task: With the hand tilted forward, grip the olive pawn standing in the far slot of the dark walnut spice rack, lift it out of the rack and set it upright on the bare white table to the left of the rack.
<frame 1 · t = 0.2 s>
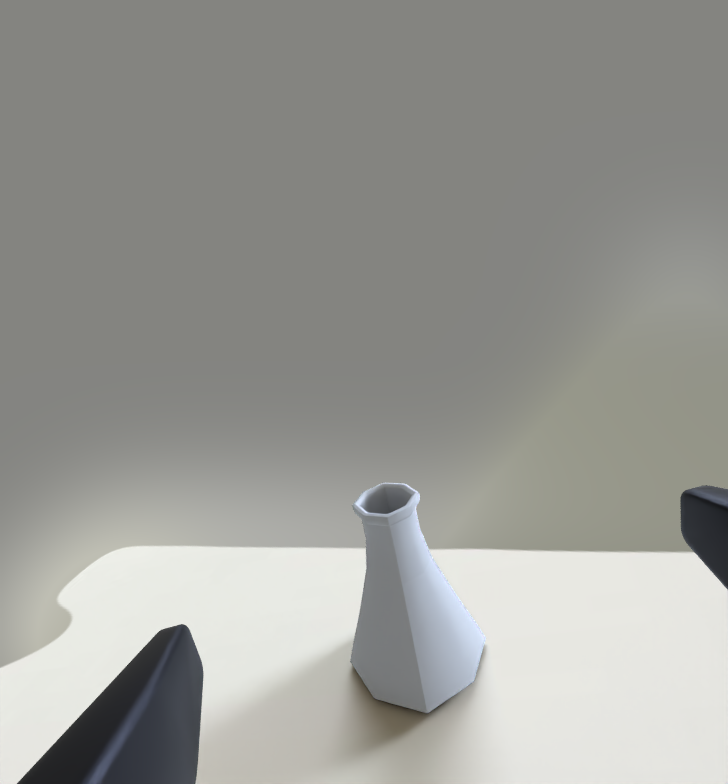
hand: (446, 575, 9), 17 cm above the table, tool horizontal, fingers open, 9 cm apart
flask: (419, 656, 28), on the table
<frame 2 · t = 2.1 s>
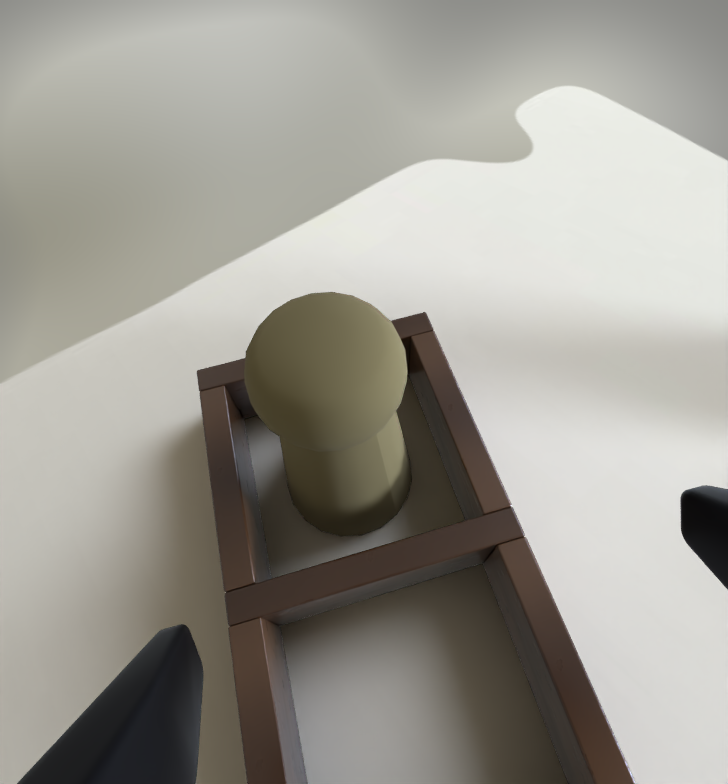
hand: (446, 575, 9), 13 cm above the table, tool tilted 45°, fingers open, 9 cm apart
spice rack: (379, 579, 21), on the table
olive pawn: (349, 474, 24), resting in spice rack
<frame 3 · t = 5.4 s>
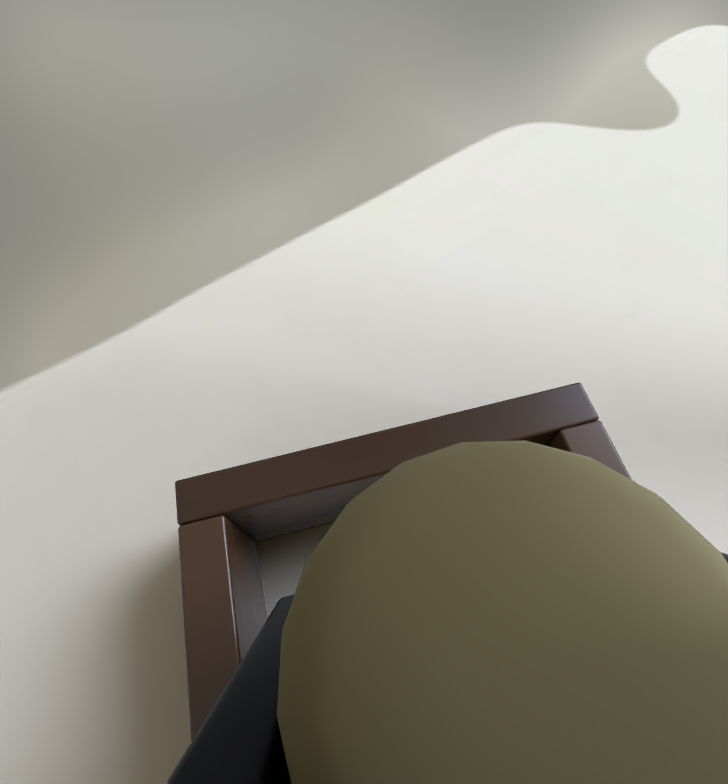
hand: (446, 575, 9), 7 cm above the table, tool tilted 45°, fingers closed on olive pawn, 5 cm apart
olive pawn: (436, 660, 14), resting in spice rack, touching gripper
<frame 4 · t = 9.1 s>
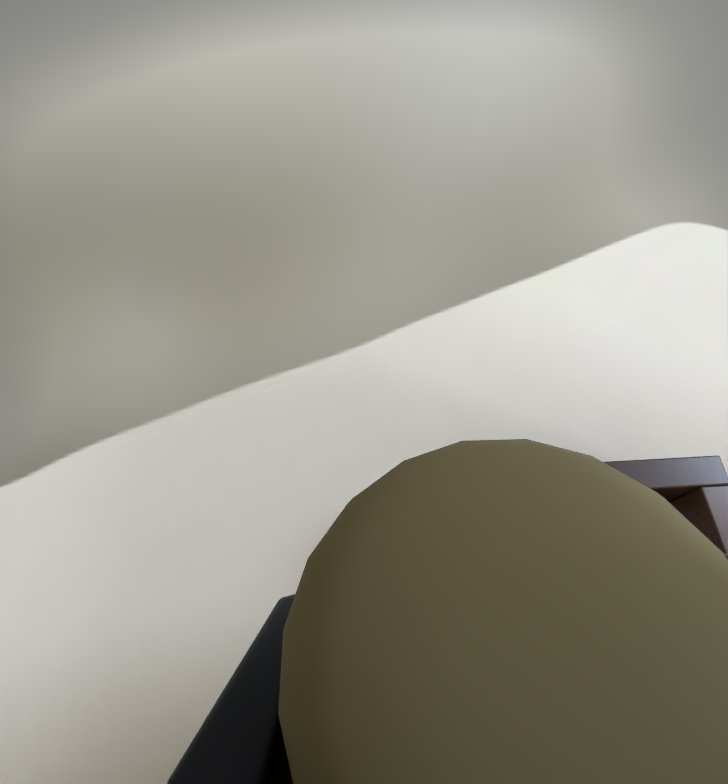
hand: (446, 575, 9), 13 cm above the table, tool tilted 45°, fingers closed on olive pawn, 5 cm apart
spice rack: (614, 783, 18), on the table
olive pawn: (437, 659, 14), point 6 cm above the table, touching gripper
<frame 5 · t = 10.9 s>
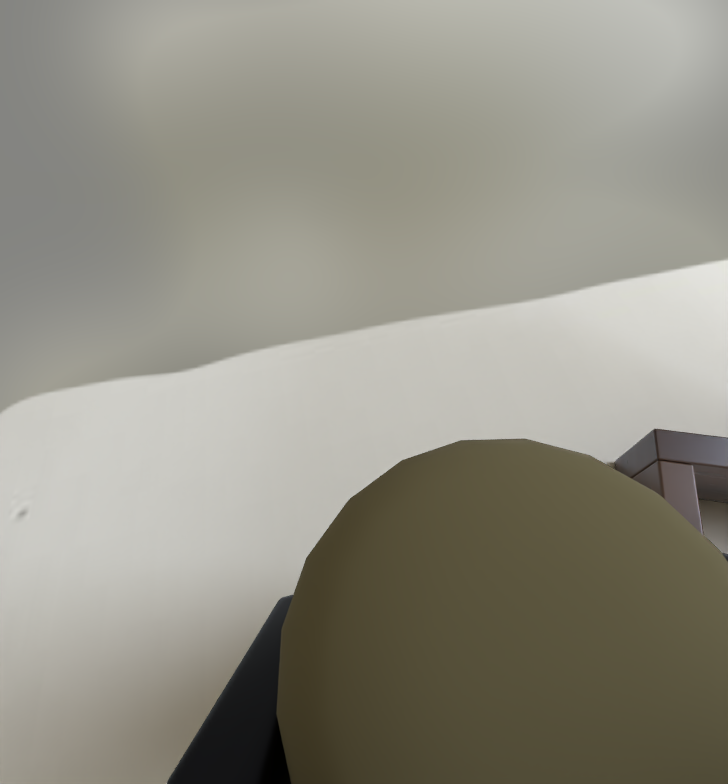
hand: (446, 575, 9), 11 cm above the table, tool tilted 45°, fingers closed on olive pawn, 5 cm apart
olive pawn: (436, 659, 14), point 4 cm above the table, touching gripper
when the fingers open (7 cm above the table, at t = 12.6 s): olive pawn stays where it is, on the table.
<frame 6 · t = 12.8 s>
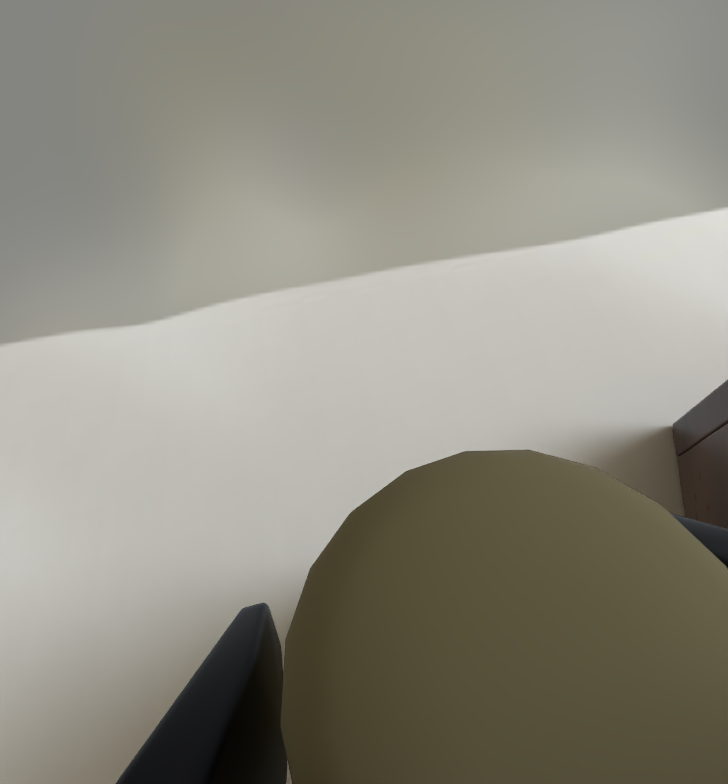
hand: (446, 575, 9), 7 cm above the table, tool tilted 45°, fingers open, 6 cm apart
olive pawn: (438, 664, 14), on the table
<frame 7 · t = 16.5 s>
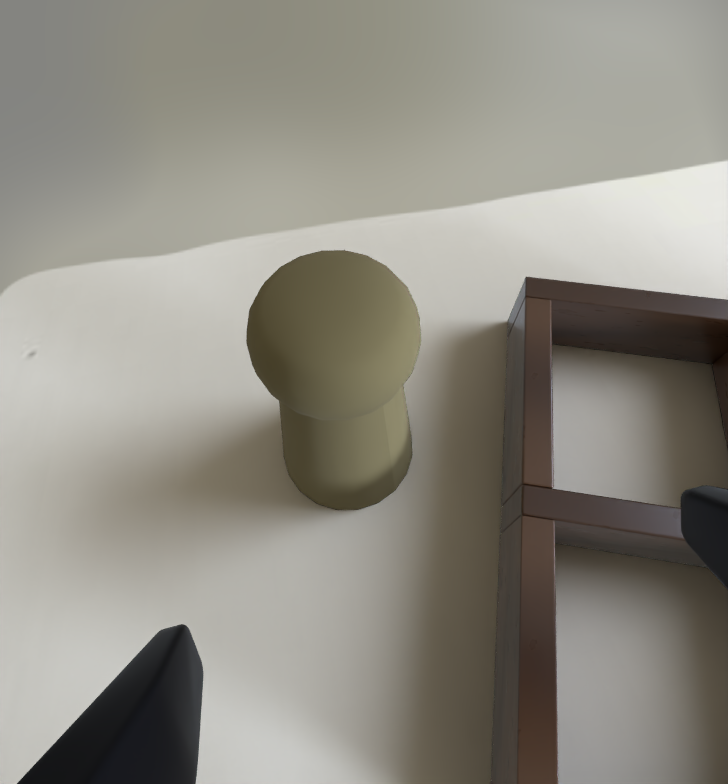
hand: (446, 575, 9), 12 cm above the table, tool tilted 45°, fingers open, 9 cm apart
spice rack: (635, 542, 21), on the table
olive pawn: (348, 447, 23), on the table
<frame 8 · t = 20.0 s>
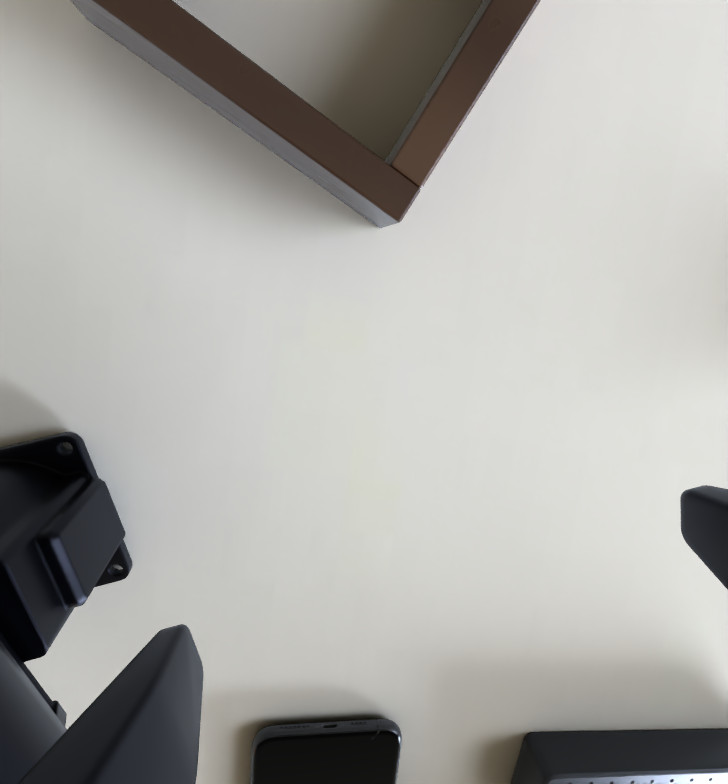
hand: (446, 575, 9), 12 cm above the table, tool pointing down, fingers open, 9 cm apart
multiport hub: (631, 757, 28), on the table
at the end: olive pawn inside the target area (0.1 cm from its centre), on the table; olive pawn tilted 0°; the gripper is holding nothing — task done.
